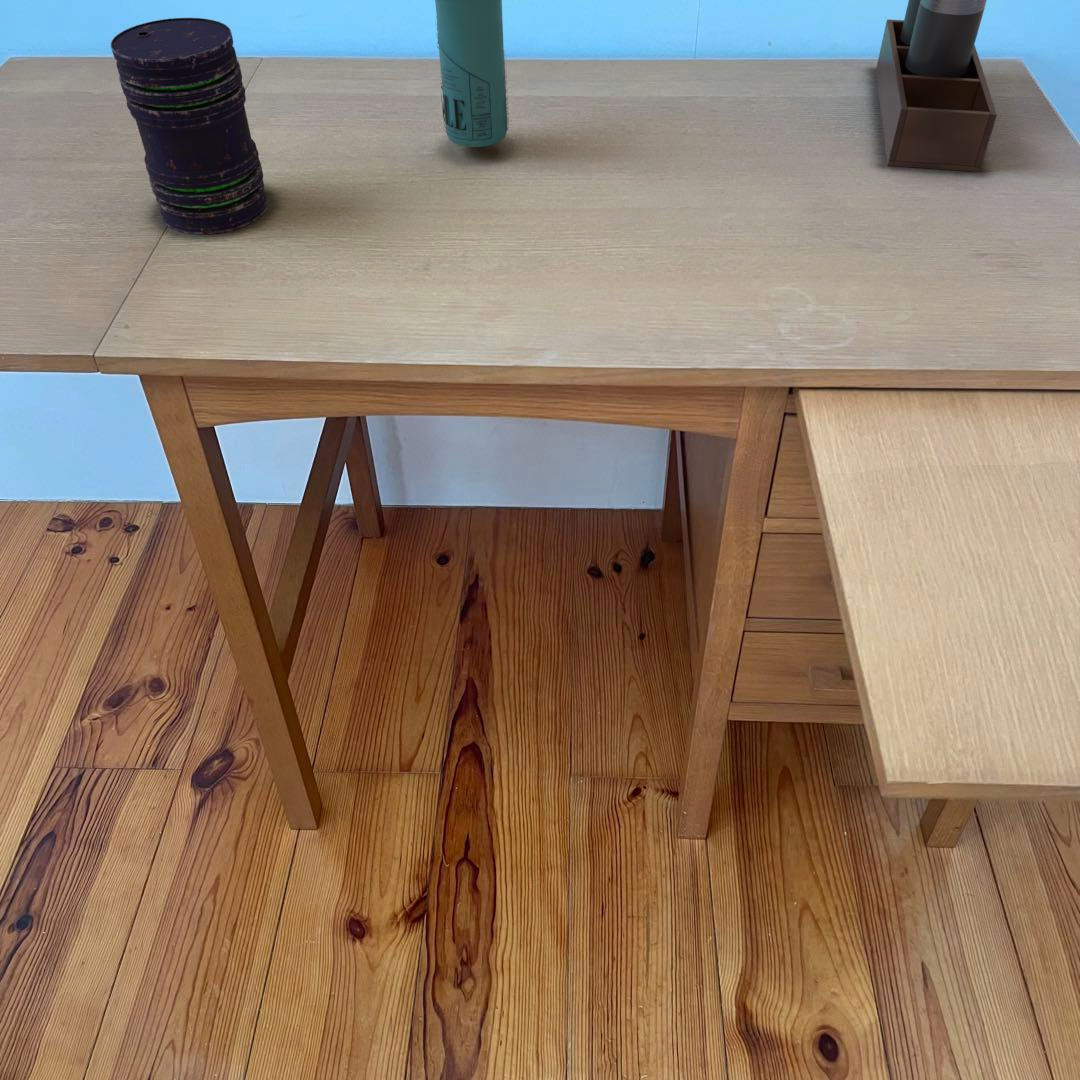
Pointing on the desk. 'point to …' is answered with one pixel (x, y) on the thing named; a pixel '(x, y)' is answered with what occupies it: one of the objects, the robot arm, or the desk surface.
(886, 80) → the can rack
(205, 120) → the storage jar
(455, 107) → the beverage bottle
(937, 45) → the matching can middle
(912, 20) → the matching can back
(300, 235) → the desk surface
